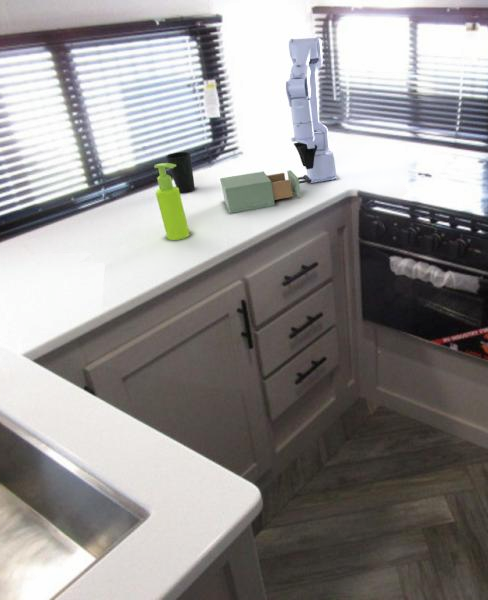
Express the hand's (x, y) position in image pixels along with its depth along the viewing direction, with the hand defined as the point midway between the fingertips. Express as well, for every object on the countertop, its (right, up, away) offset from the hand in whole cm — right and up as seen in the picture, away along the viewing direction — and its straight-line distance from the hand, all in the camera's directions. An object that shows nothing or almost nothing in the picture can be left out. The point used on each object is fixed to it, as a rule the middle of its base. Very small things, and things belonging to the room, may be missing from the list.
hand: (308, 167), depth 175 cm
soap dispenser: (-33, -23, -18) cm, 44 cm away
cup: (-43, -4, +18) cm, 47 cm away
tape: (-9, -7, +4) cm, 12 cm away
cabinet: (-19, -11, +2) cm, 22 cm away
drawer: (-8, -7, +5) cm, 12 cm away
